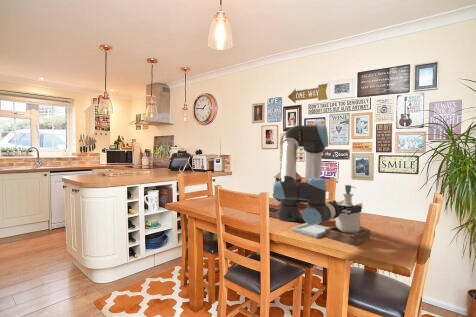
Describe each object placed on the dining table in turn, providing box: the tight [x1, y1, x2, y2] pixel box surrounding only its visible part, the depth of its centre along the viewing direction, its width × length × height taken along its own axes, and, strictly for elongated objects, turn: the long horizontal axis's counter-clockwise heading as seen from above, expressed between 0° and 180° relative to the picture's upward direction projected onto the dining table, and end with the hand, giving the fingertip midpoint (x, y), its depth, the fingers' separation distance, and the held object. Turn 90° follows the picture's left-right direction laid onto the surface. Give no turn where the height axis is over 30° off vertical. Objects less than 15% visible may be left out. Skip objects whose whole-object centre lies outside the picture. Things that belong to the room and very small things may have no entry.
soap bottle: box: [335, 184, 361, 233], centre depth 126 cm, size 10×10×23 cm
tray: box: [291, 222, 329, 239], centre depth 137 cm, size 15×15×2 cm
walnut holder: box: [324, 225, 371, 247], centre depth 127 cm, size 15×15×4 cm
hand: (352, 204), depth 129 cm, fingers closed on soap bottle, 9 cm apart
